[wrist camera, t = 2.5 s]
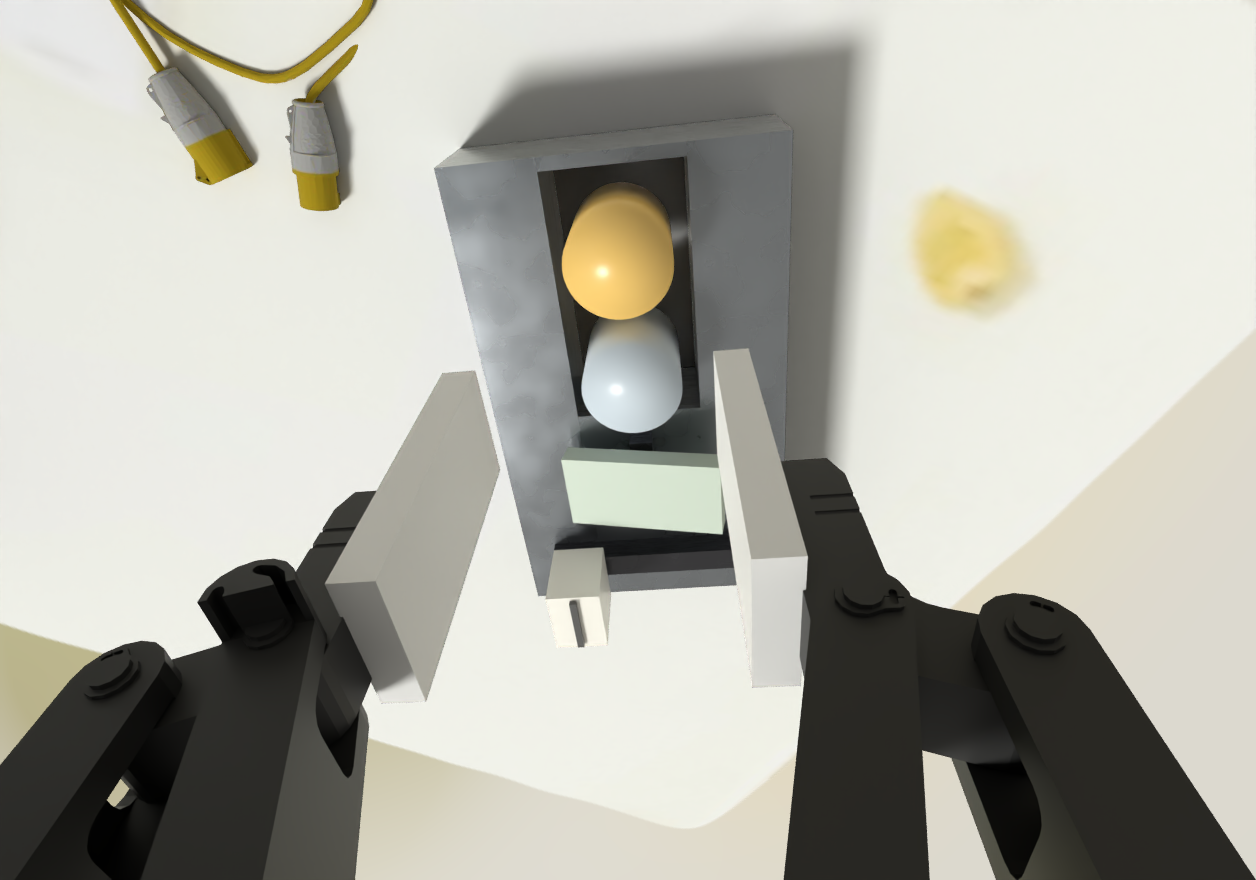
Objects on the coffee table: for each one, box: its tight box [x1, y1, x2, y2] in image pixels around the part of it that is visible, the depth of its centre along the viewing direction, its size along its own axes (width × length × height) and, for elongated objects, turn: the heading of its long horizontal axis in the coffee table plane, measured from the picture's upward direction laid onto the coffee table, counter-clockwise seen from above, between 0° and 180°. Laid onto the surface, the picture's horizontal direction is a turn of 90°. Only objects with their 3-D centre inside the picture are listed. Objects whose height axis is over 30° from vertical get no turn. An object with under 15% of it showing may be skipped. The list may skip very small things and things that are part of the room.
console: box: [434, 114, 793, 596], centre depth 31 cm, size 22×13×5 cm, turn 6°
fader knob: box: [545, 547, 611, 648], centre depth 32 cm, size 3×2×3 cm
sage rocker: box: [561, 447, 725, 534], centre depth 30 cm, size 4×7×1 cm, turn 96°
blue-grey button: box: [581, 307, 682, 433], centre depth 29 cm, size 4×4×4 cm
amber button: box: [562, 182, 674, 320], centre depth 26 cm, size 4×4×4 cm
